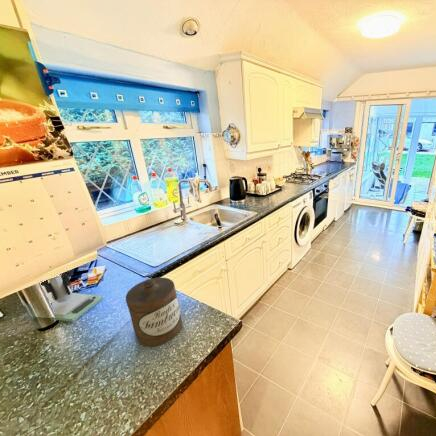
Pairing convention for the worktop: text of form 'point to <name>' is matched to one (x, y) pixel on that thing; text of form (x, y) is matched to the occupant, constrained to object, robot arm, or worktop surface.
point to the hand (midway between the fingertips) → (62, 296)
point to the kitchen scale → (74, 306)
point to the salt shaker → (59, 289)
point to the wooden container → (154, 311)
